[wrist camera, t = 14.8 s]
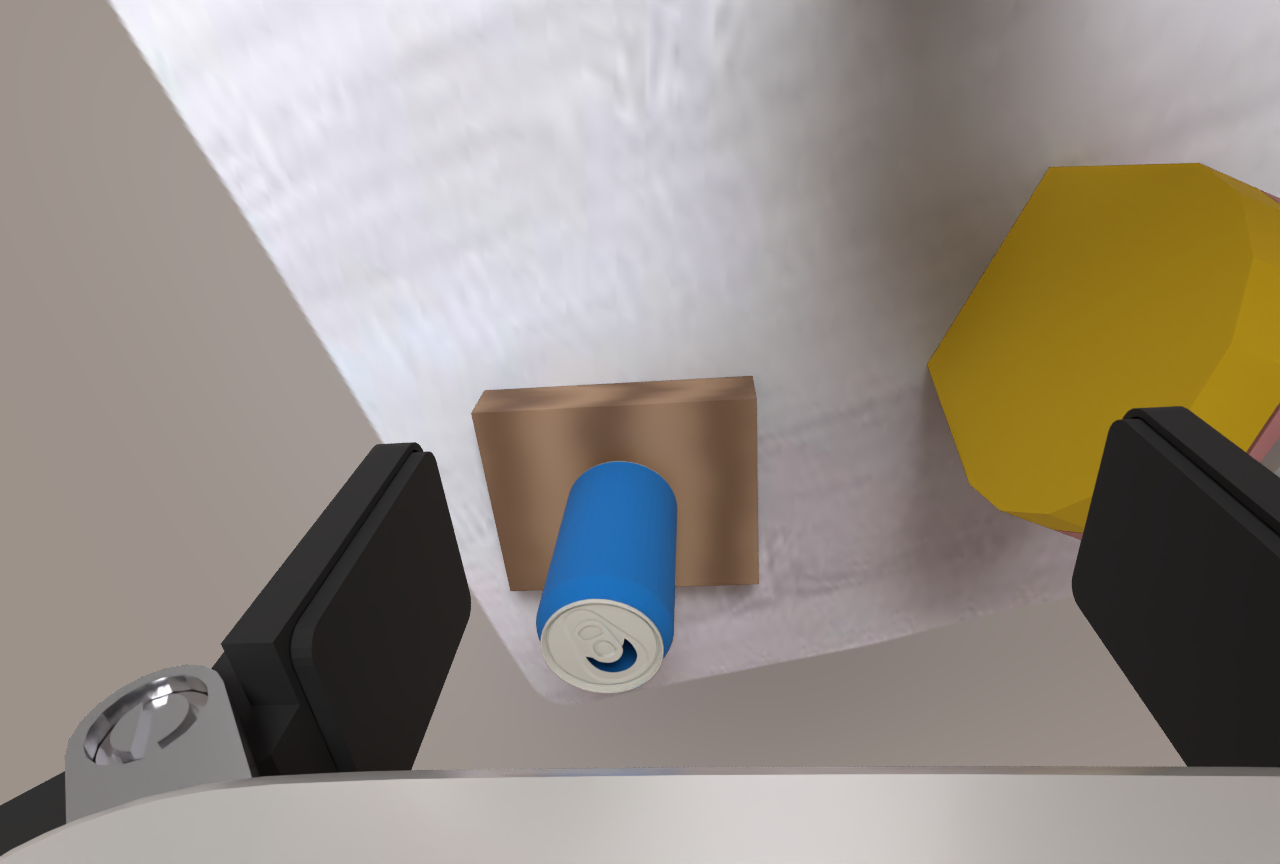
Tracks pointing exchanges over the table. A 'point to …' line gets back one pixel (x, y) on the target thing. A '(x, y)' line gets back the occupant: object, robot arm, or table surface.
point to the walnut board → (634, 432)
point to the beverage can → (611, 580)
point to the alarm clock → (1113, 330)
